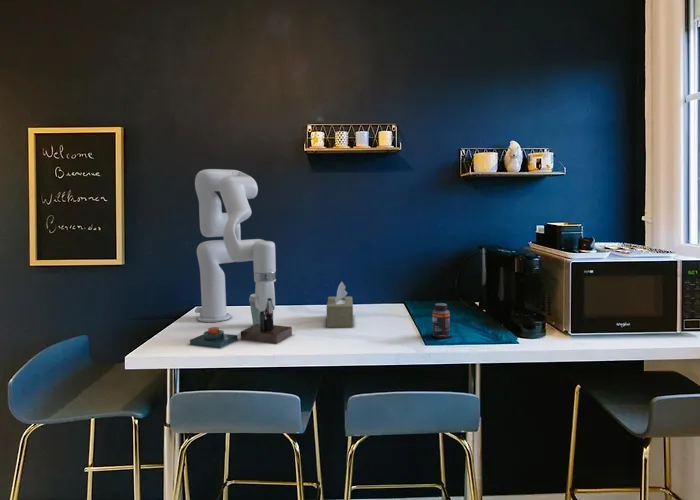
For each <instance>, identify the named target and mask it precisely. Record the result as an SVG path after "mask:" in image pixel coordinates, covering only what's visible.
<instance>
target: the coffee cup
mask: <svg viewBox="0 0 700 500" xmlns="http://www.w3.org/2000/svg"><path fill="white" fill-rule="evenodd" d="M248 301H249V306H250V313H251V319H252V326H254V325H256V324H259V312H260V310H259V309H258V308H256V306H255V293H251V294H250V295H249V298H248Z"/></svg>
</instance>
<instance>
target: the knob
mask: <svg viewBox="0 0 700 500" xmlns="http://www.w3.org/2000/svg"><path fill="white" fill-rule="evenodd" d="M267 313H268V312H266V315H267ZM264 319H265V318H264V312H262V313H259V325H260V330H262V331H264ZM273 329H274V326H273Z"/></svg>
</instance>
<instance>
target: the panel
mask: <svg viewBox="0 0 700 500" xmlns="http://www.w3.org/2000/svg"><path fill="white" fill-rule="evenodd" d="M273 326H274V329H273V330H271V331H262V330H260V325H259V324H256V325H254V326H253V325H251V326H249V327H247V328H245V329H242V330H241V331H240V340H241V341H249V342H257V343H267V344H279V343H281V342H282V341H284V340H286V339H288V338H289V337H291V336H293V327H292V326H287V325H286V326H285V325H277V324H276V325H275V324H273Z"/></svg>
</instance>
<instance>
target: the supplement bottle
mask: <svg viewBox="0 0 700 500" xmlns="http://www.w3.org/2000/svg"><path fill="white" fill-rule="evenodd" d="M450 315H451V314H450V310H449V309H448V304H447V303H443V302H438V303H437V302H436V303H435V304H434V309H433V310H432V336H433V337H434V338H438V339H446V338H448V337H450V335H451V316H450ZM449 333H450V334H449ZM434 334H435V335H434ZM447 334H449V335H447ZM439 335H446V336H439Z"/></svg>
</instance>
